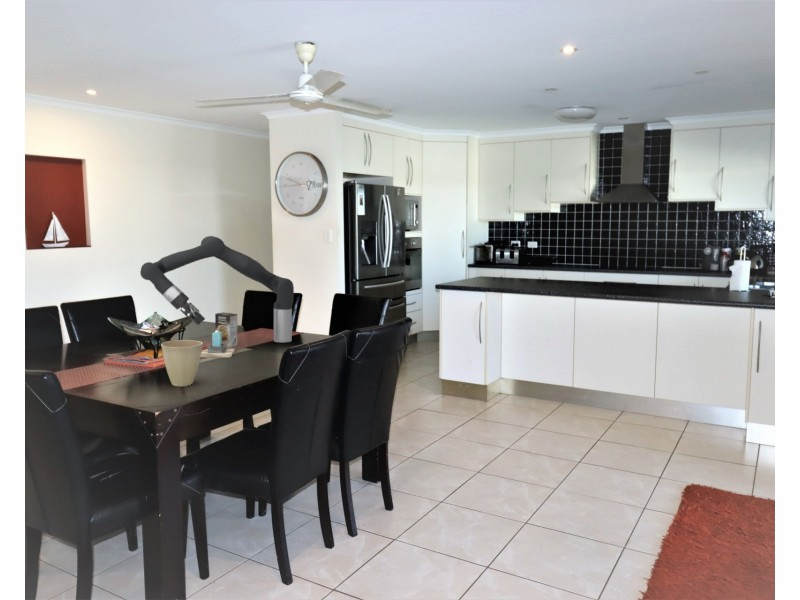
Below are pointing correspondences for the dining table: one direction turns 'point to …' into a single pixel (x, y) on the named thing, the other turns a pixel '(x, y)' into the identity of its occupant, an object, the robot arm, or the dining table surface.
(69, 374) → the dining table surface
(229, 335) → the coffee box
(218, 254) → the robot arm
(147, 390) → the dining table surface
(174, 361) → the plant pot
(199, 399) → the dining table surface
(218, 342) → the teal block
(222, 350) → the board
